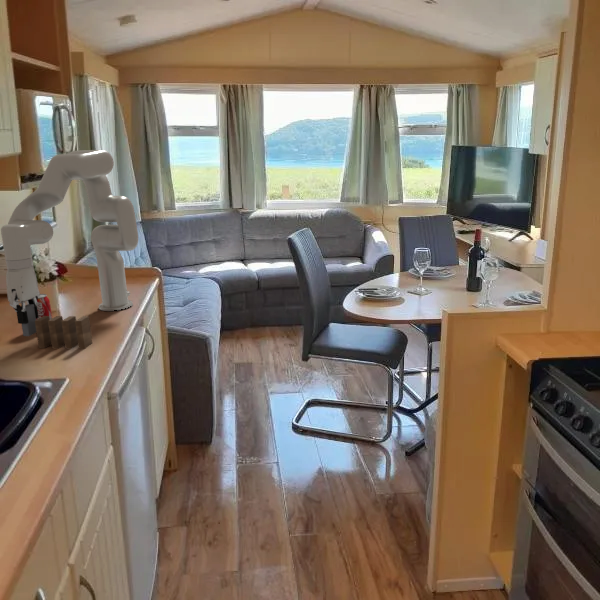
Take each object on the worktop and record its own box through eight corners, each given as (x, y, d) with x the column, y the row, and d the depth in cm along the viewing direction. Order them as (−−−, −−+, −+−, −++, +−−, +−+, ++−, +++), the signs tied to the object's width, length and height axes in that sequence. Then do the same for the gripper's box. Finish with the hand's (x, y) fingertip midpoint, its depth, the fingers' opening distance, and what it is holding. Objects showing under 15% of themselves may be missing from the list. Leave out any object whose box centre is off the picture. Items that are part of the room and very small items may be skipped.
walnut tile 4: (65, 348, 194) (61, 321, 192) (73, 343, 199) (69, 316, 197) (71, 348, 194) (67, 321, 192) (79, 343, 199) (75, 316, 196)
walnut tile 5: (79, 348, 194) (75, 321, 191) (86, 343, 198) (82, 316, 196) (85, 348, 193) (81, 321, 191) (92, 343, 198) (88, 316, 196)
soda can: (30, 333, 210) (25, 299, 207) (33, 327, 217) (28, 294, 214) (52, 331, 212) (47, 297, 209) (54, 325, 219) (49, 292, 216)
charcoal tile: (23, 336, 195) (18, 308, 193) (32, 331, 200) (28, 304, 197) (29, 336, 195) (24, 308, 192) (38, 331, 199) (33, 304, 197)
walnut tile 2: (39, 348, 196) (34, 320, 193) (47, 342, 200) (43, 316, 198) (44, 348, 195) (40, 320, 193) (53, 342, 200) (49, 316, 198)
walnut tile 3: (52, 348, 195) (48, 320, 193) (60, 342, 200) (56, 316, 197) (58, 348, 195) (54, 320, 192) (66, 343, 199) (62, 316, 197)
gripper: (24, 258, 200) (32, 313, 205) (-9, 270, 184) (1, 328, 189) (45, 258, 199) (53, 313, 204) (14, 270, 183) (24, 329, 187)
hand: (28, 320), depth 196 cm, fingers closed on charcoal tile, 4 cm apart
